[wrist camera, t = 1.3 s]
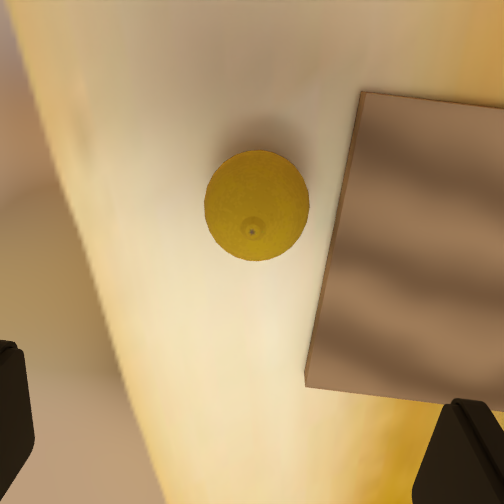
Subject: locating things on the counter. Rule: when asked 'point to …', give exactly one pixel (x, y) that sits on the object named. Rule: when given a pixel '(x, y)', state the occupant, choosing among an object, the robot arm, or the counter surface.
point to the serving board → (416, 257)
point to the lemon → (256, 205)
